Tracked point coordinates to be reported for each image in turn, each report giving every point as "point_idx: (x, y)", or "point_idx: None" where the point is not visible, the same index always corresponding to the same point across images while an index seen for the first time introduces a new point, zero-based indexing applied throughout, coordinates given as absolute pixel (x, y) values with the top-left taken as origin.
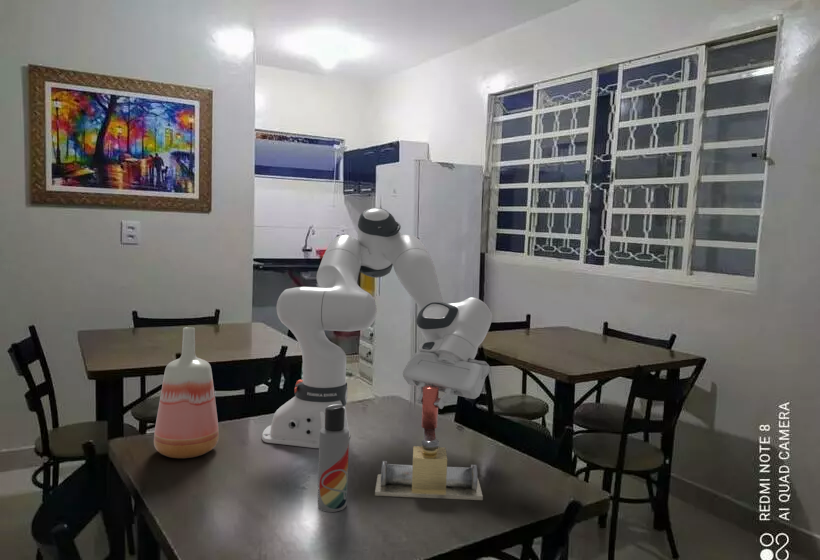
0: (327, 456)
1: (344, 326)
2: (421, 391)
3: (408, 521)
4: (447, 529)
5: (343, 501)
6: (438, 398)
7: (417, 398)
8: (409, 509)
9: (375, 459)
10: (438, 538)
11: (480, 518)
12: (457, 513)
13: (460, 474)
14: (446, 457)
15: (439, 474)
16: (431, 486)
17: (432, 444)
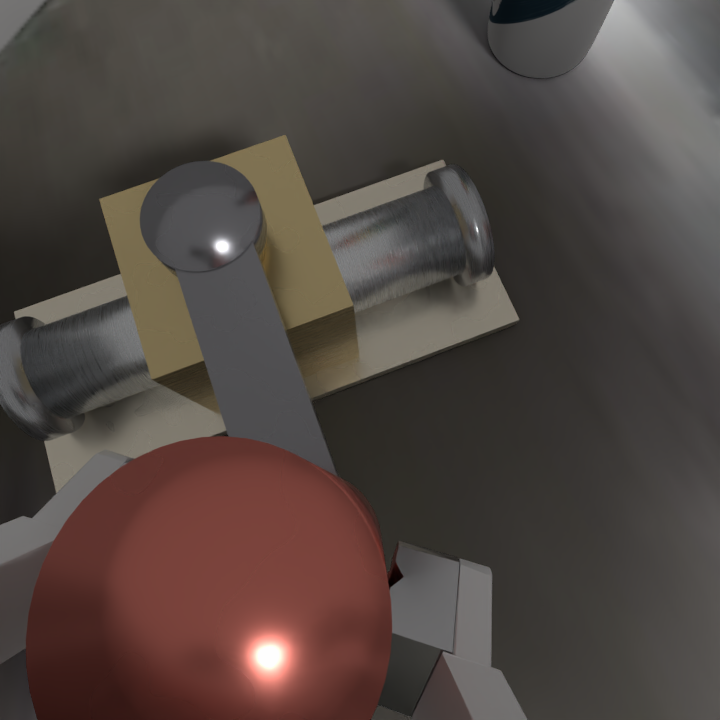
0: None
1: None
2: (463, 707)
3: (249, 54)
4: (113, 61)
5: (492, 2)
6: None
7: (472, 571)
8: (276, 128)
9: (647, 540)
10: (128, 4)
11: (16, 173)
12: (102, 173)
13: (84, 311)
14: (110, 226)
15: None
16: None
17: (171, 171)
